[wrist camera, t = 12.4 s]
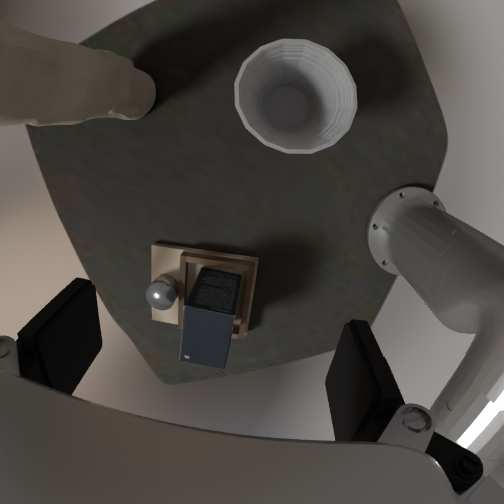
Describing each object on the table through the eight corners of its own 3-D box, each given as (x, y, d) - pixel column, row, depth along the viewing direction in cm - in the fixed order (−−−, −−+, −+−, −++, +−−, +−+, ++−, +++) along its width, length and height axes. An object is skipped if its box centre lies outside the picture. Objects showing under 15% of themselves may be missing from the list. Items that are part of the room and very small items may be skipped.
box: (233, 322, 45) (224, 370, 35) (194, 314, 45) (177, 360, 35) (242, 273, 42) (236, 316, 33) (201, 265, 42) (182, 305, 32)
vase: (105, 129, 37) (-94, 159, 9) (103, 70, 34) (-85, 36, 6) (164, 119, 36) (-31, 119, 8) (162, 57, 33) (-10, -33, 5)
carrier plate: (258, 257, 43) (257, 270, 39) (247, 331, 47) (245, 347, 43) (154, 242, 42) (144, 253, 39) (154, 316, 47) (146, 330, 43)
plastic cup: (348, 96, 34) (381, 82, 23) (301, 165, 38) (316, 178, 27) (273, 48, 33) (276, 15, 22) (226, 118, 36) (209, 112, 25)
